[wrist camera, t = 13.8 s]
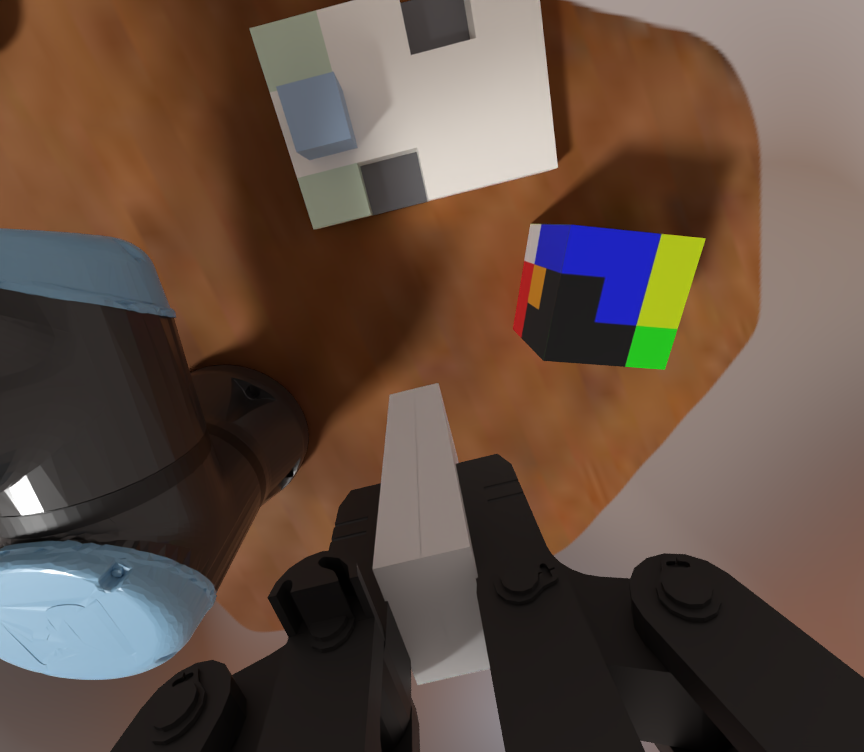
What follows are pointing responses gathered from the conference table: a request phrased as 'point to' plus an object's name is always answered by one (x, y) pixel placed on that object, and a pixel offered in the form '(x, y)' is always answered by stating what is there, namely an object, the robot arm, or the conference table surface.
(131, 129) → the conference table surface
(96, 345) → the robot arm
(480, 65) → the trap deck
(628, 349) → the puzzle toy
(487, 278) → the conference table surface
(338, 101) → the block
